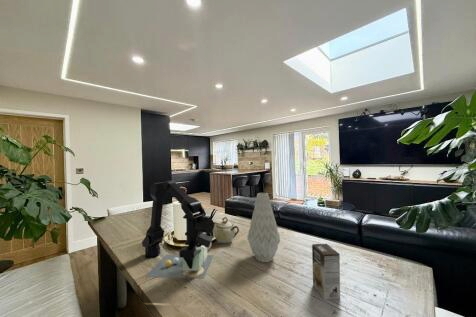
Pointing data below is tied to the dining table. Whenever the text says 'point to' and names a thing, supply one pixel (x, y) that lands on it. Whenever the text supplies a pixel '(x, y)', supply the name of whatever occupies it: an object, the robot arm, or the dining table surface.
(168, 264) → the amber marble
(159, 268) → the slate board
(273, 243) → the vase
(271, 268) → the dining table surface
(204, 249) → the ivory cube
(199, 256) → the frosted jade cube
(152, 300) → the dining table surface
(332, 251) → the coffee box
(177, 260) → the pale blue marble
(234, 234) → the sugar bowl
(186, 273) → the tan flat disc
